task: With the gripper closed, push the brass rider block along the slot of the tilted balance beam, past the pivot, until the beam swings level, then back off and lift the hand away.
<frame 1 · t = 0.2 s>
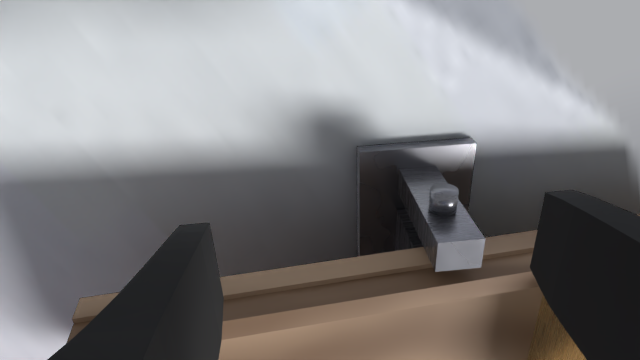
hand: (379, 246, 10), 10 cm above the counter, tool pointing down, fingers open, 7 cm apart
rider: (593, 320, 20), point 4 cm above the counter, tilted 5°, touching beam
stand: (407, 269, 24), on the counter
beam: (467, 351, 19), point 5 cm above the counter, hinge at 5.2°, touching rider
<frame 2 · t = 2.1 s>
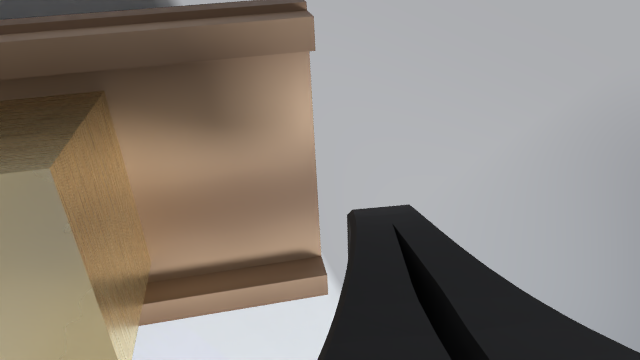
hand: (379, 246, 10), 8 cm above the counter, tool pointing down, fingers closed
rider: (26, 198, 13), point 4 cm above the counter, tilted 5°, touching beam
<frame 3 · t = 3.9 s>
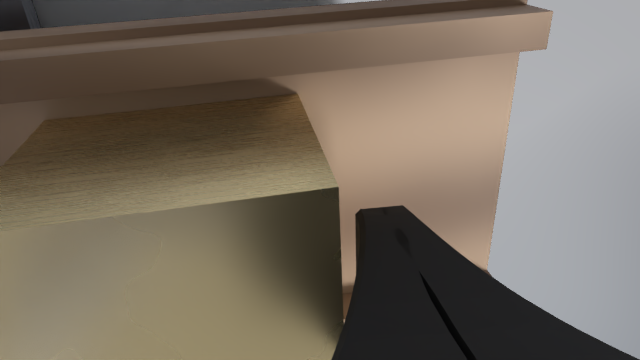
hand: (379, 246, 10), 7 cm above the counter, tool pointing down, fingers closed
rider: (197, 210, 12), point 4 cm above the counter, touching beam, gripper
stand: (1, 159, 15), on the counter
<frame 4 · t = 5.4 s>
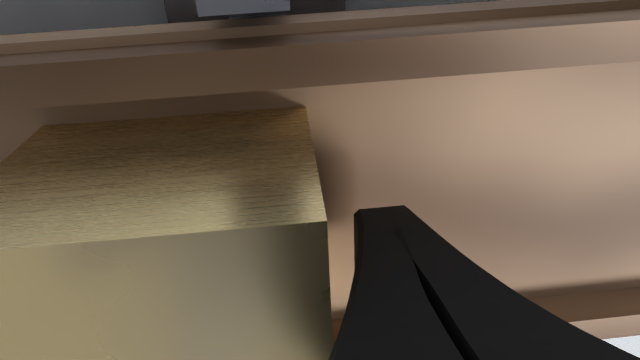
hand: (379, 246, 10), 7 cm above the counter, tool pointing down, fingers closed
rider: (198, 224, 11), point 5 cm above the counter, touching beam, gripper
stand: (271, 137, 16), on the counter
beam: (314, 223, 11), point 5 cm above the counter, hinge at -0.1°, touching rider
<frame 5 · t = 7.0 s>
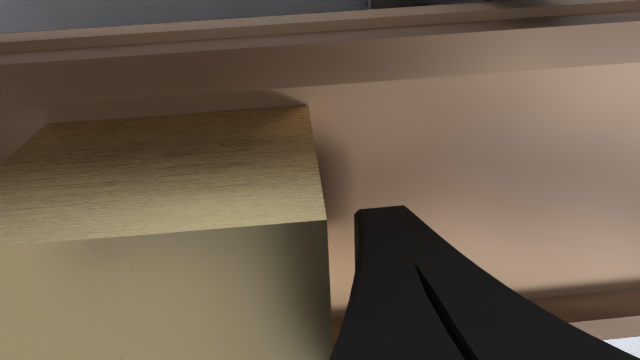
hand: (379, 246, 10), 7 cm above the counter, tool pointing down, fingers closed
rider: (200, 222, 11), point 5 cm above the counter, touching beam, gripper
stand: (439, 123, 16), on the counter
beam: (549, 202, 11), point 5 cm above the counter, hinge at -0.5°, touching rider
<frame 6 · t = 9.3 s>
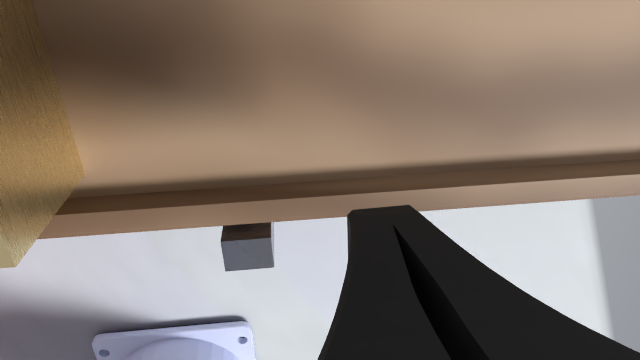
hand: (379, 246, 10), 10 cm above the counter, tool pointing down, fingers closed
stand: (239, 42, 18), on the counter
beam: (263, 82, 13), point 5 cm above the counter, hinge at -0.5°, touching rider
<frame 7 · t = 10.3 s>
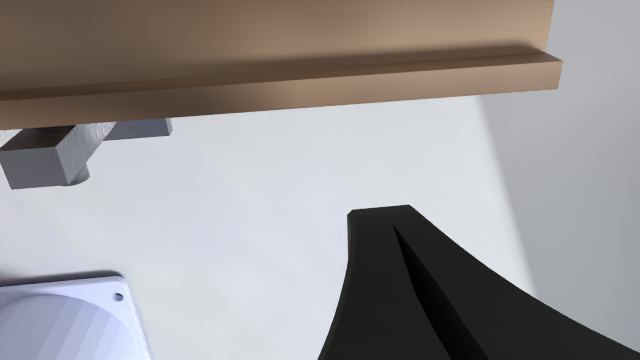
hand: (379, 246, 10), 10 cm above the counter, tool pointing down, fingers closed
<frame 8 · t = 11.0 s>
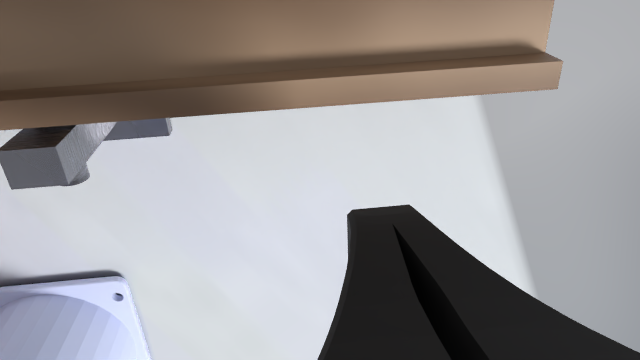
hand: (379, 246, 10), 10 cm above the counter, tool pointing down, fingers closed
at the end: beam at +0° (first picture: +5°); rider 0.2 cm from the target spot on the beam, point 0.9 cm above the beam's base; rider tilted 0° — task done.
